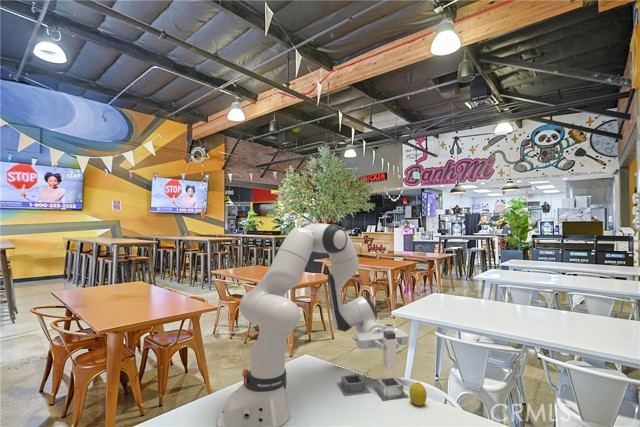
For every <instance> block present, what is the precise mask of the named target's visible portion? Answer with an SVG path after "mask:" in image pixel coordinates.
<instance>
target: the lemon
mask: <svg viewBox="0 0 640 427" xmlns="http://www.w3.org/2000/svg"><path fill="white" fill-rule="evenodd" d="M409 388H410V389H409V393H408V395H409V398H410V401H411V403H413V404H414V405H415V406H418V407H421V406H423V405H424V404H425V403H426V401H427V390H426V387H425V386H424V385H423V384H422V383H421V382H418V381H416V382H413V384H411V385H410V387H409Z"/></svg>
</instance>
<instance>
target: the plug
mask: <svg viewBox="0 0 640 427" xmlns="http://www.w3.org/2000/svg"><path fill="white" fill-rule="evenodd" d="M383 335H384V337H383V343H384V344H385V345H386V350H382V364H383V366H384V367H385V368H386V369H394V368H397V366H398V364H397V363H398V362H397V361H398V360H397V349H396V338H395V333H394V332H393V331H383Z"/></svg>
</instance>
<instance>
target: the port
mask: <svg viewBox="0 0 640 427" xmlns="http://www.w3.org/2000/svg"><path fill="white" fill-rule="evenodd" d="M371 388H372V390H373V391H374V392H375V393H376V394H377V395H378V397H379V399H381V401H382V402H388V401H394V400H402V399H409V398H410V395H409V393H406V392H405V391H404V384H403V383H402V382H401V381H400V380H399V379H398V378H397V377H396V376H385V377H378V378H377V379H376V385H375V386H371Z"/></svg>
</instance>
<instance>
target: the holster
mask: <svg viewBox="0 0 640 427" xmlns="http://www.w3.org/2000/svg"><path fill="white" fill-rule="evenodd" d="M336 385H337V387H338V388H339V390H340V391H341V393H342V396H343V397H350V396H356V395H357V396H358V395H359V396H360V395H365V394H366V395H367V394H371V391H370V390H369V389H368V387H367V385H366V384H365V381H364V379H363V378H362V376H361V375H360V374H348V375H346V374H345V375H343V376H341V381H339V382H336Z"/></svg>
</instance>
